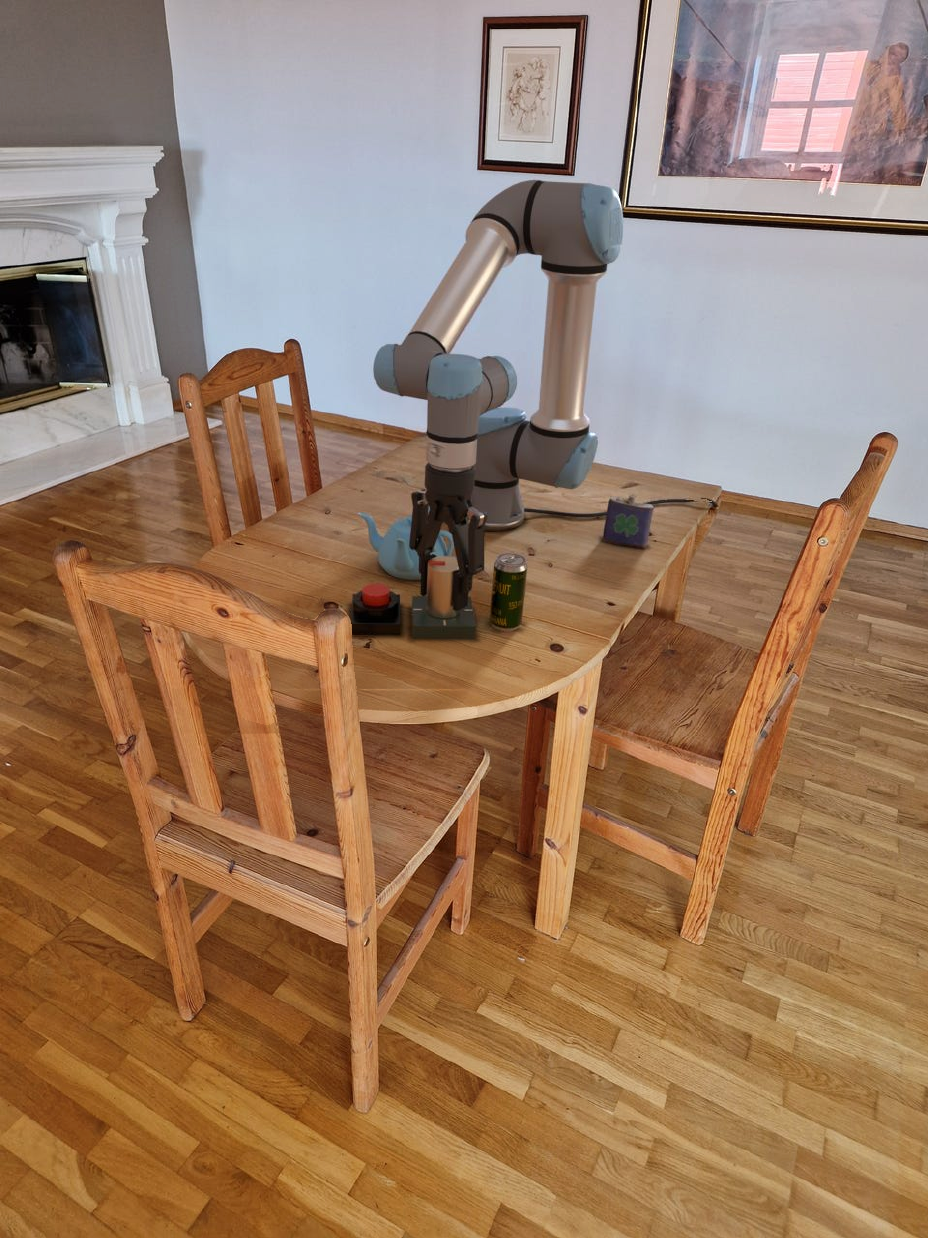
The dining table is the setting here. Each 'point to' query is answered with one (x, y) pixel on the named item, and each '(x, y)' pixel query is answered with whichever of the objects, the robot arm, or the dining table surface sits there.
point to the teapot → (402, 548)
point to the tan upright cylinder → (441, 587)
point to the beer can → (508, 591)
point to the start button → (375, 594)
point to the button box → (375, 616)
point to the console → (442, 622)
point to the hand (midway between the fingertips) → (443, 599)
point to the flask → (628, 522)
